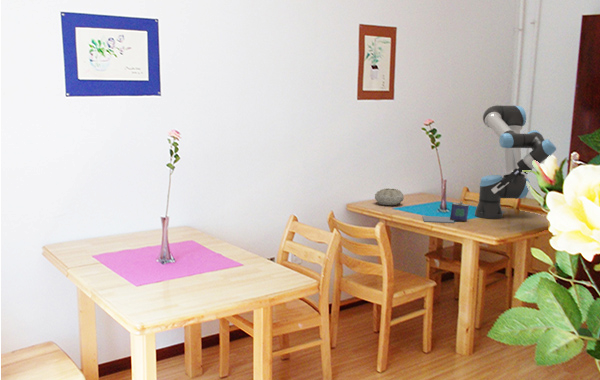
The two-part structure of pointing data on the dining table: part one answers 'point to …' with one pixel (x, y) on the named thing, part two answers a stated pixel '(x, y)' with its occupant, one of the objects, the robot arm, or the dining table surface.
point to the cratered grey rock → (389, 196)
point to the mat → (437, 219)
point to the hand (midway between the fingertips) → (495, 190)
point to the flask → (459, 212)
